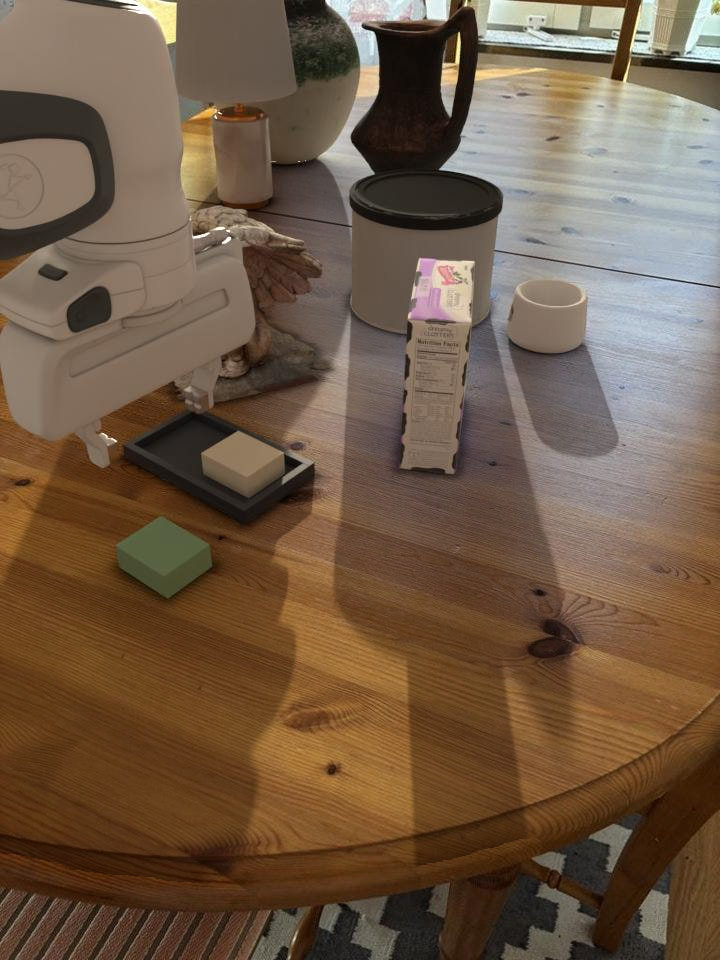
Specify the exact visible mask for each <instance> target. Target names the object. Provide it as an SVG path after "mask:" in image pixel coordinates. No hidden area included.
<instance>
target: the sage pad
mask: <svg viewBox="0 0 720 960" xmlns="http://www.w3.org/2000/svg"><path fill="white" fill-rule="evenodd" d="M115 551H116V556H117V557H116V558H117V562H118V567H119V568H120V569H121V570H123V571H124V572H126V573H127V574H129V575H130V576H132V577H133V578H134V579H137V580H138V581H140V582H141V583H143V584H144V585H146V586H147V587H149V588H151V589H152V590H153V591H155V592H156V593H158V594H160V595H161V596H163V597H164V598H166V599H170V598H171V597H172V596H174V595H175V594H177V593H178V592H179V591H181V590H182V589H184V588H185V587H187V586H188V585H189V584H190V583H192V582H193V581H194V580H196V579H197V578H199V577H200V576H202V575H203V574H205V573H206V572H207V571H208V570H210V569H212V567H213V560H212V553H211V552H212V551H211V544H210V543H208V542H206V541H205V540H203V539H201V538H200V537H198V536H196V535H194V534H193V533H191V532H190V531H187V530H186V529H184V528H183V527H181V526H180V525H178V524H176V523H174V522H172V521H171V520H170V519H167V518H165V516H162V515H160V516H159V517H157V518H156V519H154V520H152V521H150V522H149V523H148V524H146V525H144V526H143V527H141V528H140V529H138V530H137V531H135V532H134V533H132V534H131V535H129V536H127V537H126V538H124V539H122V540H121V541H119V542H118V543H116V544H115Z"/></svg>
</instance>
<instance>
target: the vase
mask: <svg viewBox="0 0 720 960" xmlns="http://www.w3.org/2000/svg"><path fill="white" fill-rule="evenodd" d="M284 6H285V13H286V19H287V25H288V31H289V38H290V45H291V51H292V58H293V65H294V72H295V79H296V85H297V90H296V91H295V92H294V93H293V94H291V95H289V96H287V97H284V98H280V99H276V100H271V101H264V102H255V103H244V106H252V107H257V108H260V109H262V110H263V111H264V112H266V113H267V114H268V115H269V124H270V145H271V161H276V162H271V164H275V165H296V164H301V163H306V162H309V161H312V160H314V159H317V158H318V157H320V156H321V155H323V154H324V153H326V152H327V151H328V150H330V148H331V147H332V146H333V145H334V144H335V142H337V140H338V138H339V137H340V135H341V133H342V132H343V129H344V128H345V126H346V125H347V121H348V120H349V117H350V115H351V113H352V110H353V107H354V104H355V102H356V97H357V94H358V89H359V85H360V79H361V57H360V52H359V47H358V45H357V44H358V43H357V41H356V38H355V35H354V33H353V31H352V29H351V27H350V25H349V24H348V22H347V21H346V20H345V19H344V17H343V16H342V15H341V14H340V13H339V12H338V11H336V10H335V9H334V8H333V7H331V6H330V5H329V4H328V3H327V1H326V0H284ZM213 105H214V107H215V110H216V112H217V111H218V110H219V109H221V108H225V107H231V106H235V103H213ZM313 158H314V159H313ZM305 160H306V161H305ZM298 161H300V162H298Z"/></svg>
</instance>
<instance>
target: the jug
mask: <svg viewBox="0 0 720 960" xmlns="http://www.w3.org/2000/svg"><path fill="white" fill-rule="evenodd" d="M360 27H361V28H362V29H363V30H365V31H370V32H373V33H374V35H375V39H376V40H375V41H376V46H377V47H376V48H377V54H378V91H377V94H376V96H375V99H374V101H373V102H372V104H371V105H370V106H369V108H368V110H367V111H366V112H365V113H364V115H362V117H361V118H360V120H358V121H357V123H356V124H355V126H354V128H353V130H352V131H351V133H350V142H351V144H352V146H354V148H355V149H356V151H357V152H358V153H359V154H360V155H361V157H362V158H363V159H364V160H365V162H366V164H367V165H368V166H369V168H370V170H371V171H372V172H373V174H377V173H382V172H387V171H394V170H404V169H435V170H441V168H443V166H444V165H445V164H446V163H447V162H448V161H449V159H451V157H453V156H454V154H455V153H456V152H457V150H458V149H459V148H460V144H461V142H462V137H461V135H462V133H463V131H464V127H465V126H466V123H467V120H468V117H469V112H470V107H471V105H472V100H473V93H474V87H475V81H476V73H477V66H478V61H479V60H478V59H479V29H478V21H477V16H476V10H475V9H474V7H473V6H469V5H465V6H464V5H462V6H461V7H460V8H459V9H458V10H456V11H455V13H454V14H452V16H451V17H450V18H449V19H448V20H437V19H418V20H412V19H402V20H400V19H399V20H369V21H366V22H362V23H361V25H360ZM457 34H459V43H460V47H459V60H458V61H459V62H458V73H457V79H456V84H455V90H454V97H453V101H452V108H451V114H449V112H448V110H447V109H446V106H445V104H444V101H443V100H444V99H443V97H442V78H443V77H442V75H443V62H444V54H445V49H446V44H447V41H448V40H449V39H450V38H451V37H452V36H454V35H457Z"/></svg>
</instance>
